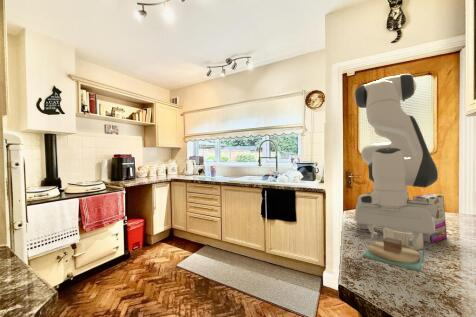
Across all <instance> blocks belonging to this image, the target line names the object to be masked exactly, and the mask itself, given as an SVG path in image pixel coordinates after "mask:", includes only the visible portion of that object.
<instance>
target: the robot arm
mask: <svg viewBox="0 0 476 317" xmlns="http://www.w3.org/2000/svg"><path fill="white" fill-rule="evenodd" d="M416 90H417V81H416V79H415V77H414V76H413V75H412V74H411V73H402V74H399V75H394V76H388V77H384V78H381V79H379V80H376V81H372V82H369V83H367V84H362V85H360V86H358V87H357V88H356V89H355V91H354V94H353V96H354V97H353V98H354V99H353V100H354V102H355V105H356V106H357V107H359V108H361V109H364V108H365V109H366V110H365V111H366V112H365V113H366V119H367V122H368V123H369V124H370V126H371V127H372V128H373V129H374V133H375V134H376V135H377V136H379V137H382V138H384V139H387V140H389V142H380V143H378V142H377V143H372V144H368V145H365V146H363V148H362V150H361V153H360V156H361V159H362V160H363V162H365V163H366V164H367V168H368V180H370V181H371V182H373V186H372V187H373V188H372V192H370V191H369V192H367V193H363V194H361V195H358V196H357V202H360V203H358V204H357V205H356V204H355V211H354V219H355V222H356V223H357V222H358V223H361V224H367V228H368V229H369V231H370V232H369V233H370V234H371V238H372V239H373V240H378V239H379V232H376V231H375V230H374V226H376V227H381V228H382V227H386V228H392V229H399V230H405V231H411V232H413V235H414V237H413V238H412V239H408V245H409V246H413V247H415V241H416V239H417V238H418V237H419V233H424V234H430V235H432V234H433V233H435V223H434V219H433V217H434V216H435V214H436V209H435V206H434V205H433V204H431V203H428V202H427V201H416V200H413V199H410V198H409V197H410V196H409V192H408V187H413V188H414V187H415V188H428V187H430V186H432V185H433V184H435V182H437V181H438V179H439V170H438V167H437V164H436V163H435V161H434V159H433V157H432V155H431V154H430V151H429V148H428V147H427V143H426V141H425V138H424V136H423V134H422V133H423V132H422V131H421V128H420V126H419V124H418V122H417V120H416V118H415V117H414V116H413V115H411V114H407V112H405V111H404V109H403V108H402V105H401V101H402V102H405V101H406V100H408V99H410V98H411V97H413V96H414V94H415V92H416ZM428 204H430V205H428Z"/></svg>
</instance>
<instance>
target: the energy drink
mask: <svg viewBox="0 0 476 317" xmlns="http://www.w3.org/2000/svg"><path fill="white" fill-rule="evenodd" d="M358 203H360V202H358V201H356V204H355V206H356V205H357V204H358ZM356 227H357V231H359V232H362V233H371V232H370V231H369V229H368V228H367V224H361V223H358V222H357V221H356Z"/></svg>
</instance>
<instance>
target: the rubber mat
mask: <svg viewBox="0 0 476 317" xmlns="http://www.w3.org/2000/svg"><path fill="white" fill-rule="evenodd" d="M374 242H375V241H373V242H372V243H374ZM416 251H417V252H419V254H420V261H419V262H417V263H397V262H392V261H388V260H385V259H382V258H379V257H377V256H375V255H373V254H372V253H371V252H370V251H369V247H368V248H367V249H366V250H365V251H364V253H363V254H362V257H363V258H368V259H371V260H375V261H380V262H383V263H387V264H391V265H394V266H398V267H403V268H406V269H409V270H414V271H418V272H421V268H422V265H423V259H424V251H420V250H416Z"/></svg>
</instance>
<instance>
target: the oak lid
mask: <svg viewBox="0 0 476 317" xmlns="http://www.w3.org/2000/svg"><path fill="white" fill-rule="evenodd" d="M373 242H374V243H373ZM373 242H371V243H369V244H368V248H369V251H370V252H371V253H372V254H373V255H375V256H377V257H379V258H382V259H385V260H388V261H392V262H397V263H417V262H419V261H420V254H419V252H420V251H419V252H417V251H418V250H414V249H412V248H410V247H407V246H404V245H401V240H399V239H393V238H388V237H386V238H385V239H383V241H373Z"/></svg>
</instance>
